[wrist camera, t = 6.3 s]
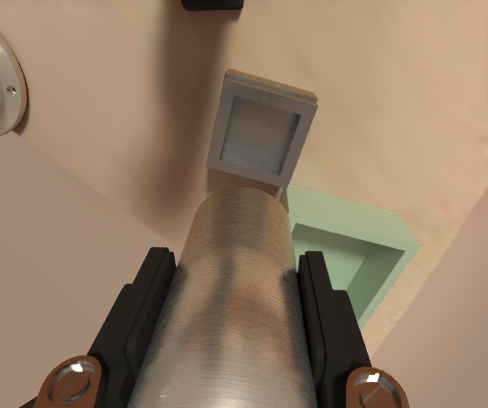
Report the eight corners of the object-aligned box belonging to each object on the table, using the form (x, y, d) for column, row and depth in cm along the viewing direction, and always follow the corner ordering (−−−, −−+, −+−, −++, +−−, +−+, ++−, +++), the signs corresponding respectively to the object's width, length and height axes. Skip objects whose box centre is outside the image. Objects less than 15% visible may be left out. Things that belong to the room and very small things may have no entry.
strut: (187, 184, 13) (-129, 853, 2) (295, 186, 13) (456, 928, 2) (196, 266, 15) (54, 796, 5) (288, 268, 15) (352, 828, 4)
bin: (253, 269, 39) (251, 306, 34) (285, 182, 33) (289, 211, 28) (348, 292, 40) (360, 331, 35) (397, 212, 34) (421, 245, 29)
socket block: (212, 149, 32) (203, 168, 27) (229, 68, 28) (222, 75, 23) (285, 169, 32) (288, 191, 28) (312, 92, 28) (321, 104, 24)
